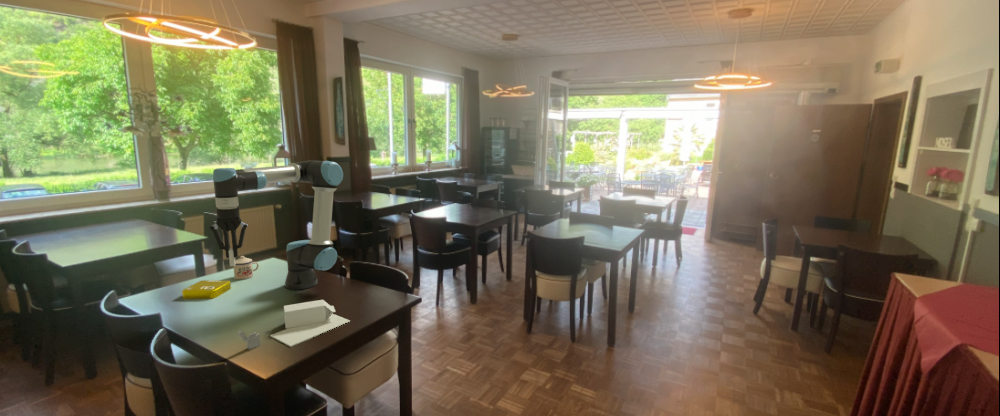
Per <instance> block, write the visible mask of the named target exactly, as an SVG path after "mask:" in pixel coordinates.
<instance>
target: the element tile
mask: <svg viewBox="0 0 1000 416" xmlns="http://www.w3.org/2000/svg"><path fill="white" fill-rule="evenodd" d="M231 289H232V286H231V280H216V279H215V280H207V279H205V280H198V282H196V283H194V284H191V285H190V286H188V287H186V288H183V289H182V291H181V293H182V298H183V300H213V299H216V298H218V297H220V296H221V295H223V294H225V293H226V292H228V291H229V290H231Z"/></svg>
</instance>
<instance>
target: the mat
mask: <svg viewBox="0 0 1000 416" xmlns="http://www.w3.org/2000/svg"><path fill="white" fill-rule="evenodd" d="M350 321H351V320H349V319H348V318H344V317H342V316H339V315H337V314H334V313H332V315H331V316H330V317H329V318H328V319H327V321H325V322H320V323H314V324H309V325H304V326H298V327H293V328H287V329H286V328H285V329H283V330H279V331H277V332H275V333H272V334H270V336H269V337H271V338H272V339H274V340H276V341H278V342H280V343H283V344H284V345H286V346H287V347H291V348H292V347H294V346H296V345H298V344H301V343H303V342H306V341H308V340H309V341H310V340H311V339H313V337H314V338H316V337H318V336H320V334H321V335H323V334H325V333H328V332H330V331H332V329H333V330H335V329H337V328H340V327H342V326H344V325H346V324H345V323H347V324H349V323H351V322H350ZM348 322H349V323H348ZM343 324H344V325H343ZM341 325H342V326H341ZM339 326H340V327H339ZM336 327H337V328H336ZM334 328H335V329H334ZM329 330H330V331H329ZM327 331H328V332H327ZM322 333H323V334H322Z"/></svg>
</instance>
